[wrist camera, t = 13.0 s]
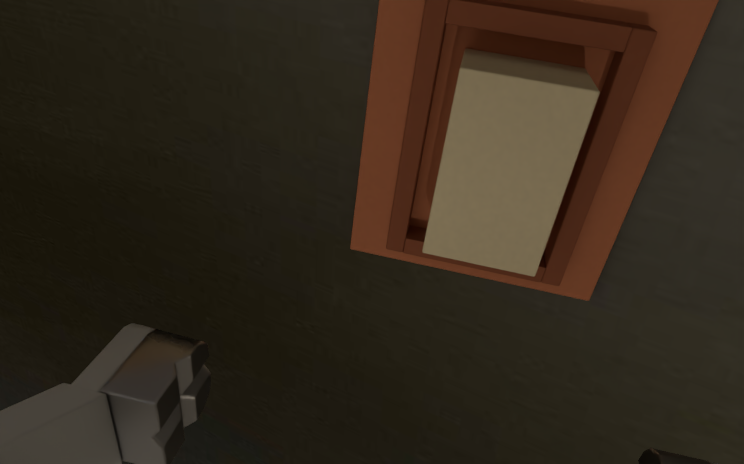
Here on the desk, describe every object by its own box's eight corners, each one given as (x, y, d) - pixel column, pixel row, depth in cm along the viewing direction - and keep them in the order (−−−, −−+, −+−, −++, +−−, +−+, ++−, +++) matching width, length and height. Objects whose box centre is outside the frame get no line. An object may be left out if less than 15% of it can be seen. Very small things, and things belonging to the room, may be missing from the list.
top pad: (465, 47, 24) (459, 67, 21) (586, 68, 24) (601, 91, 20) (430, 215, 29) (421, 253, 25) (530, 235, 28) (535, 277, 25)
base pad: (389, -55, 24) (378, -53, 22) (712, -8, 22) (735, 0, 20) (353, 240, 32) (343, 262, 30) (586, 291, 30) (593, 318, 28)
